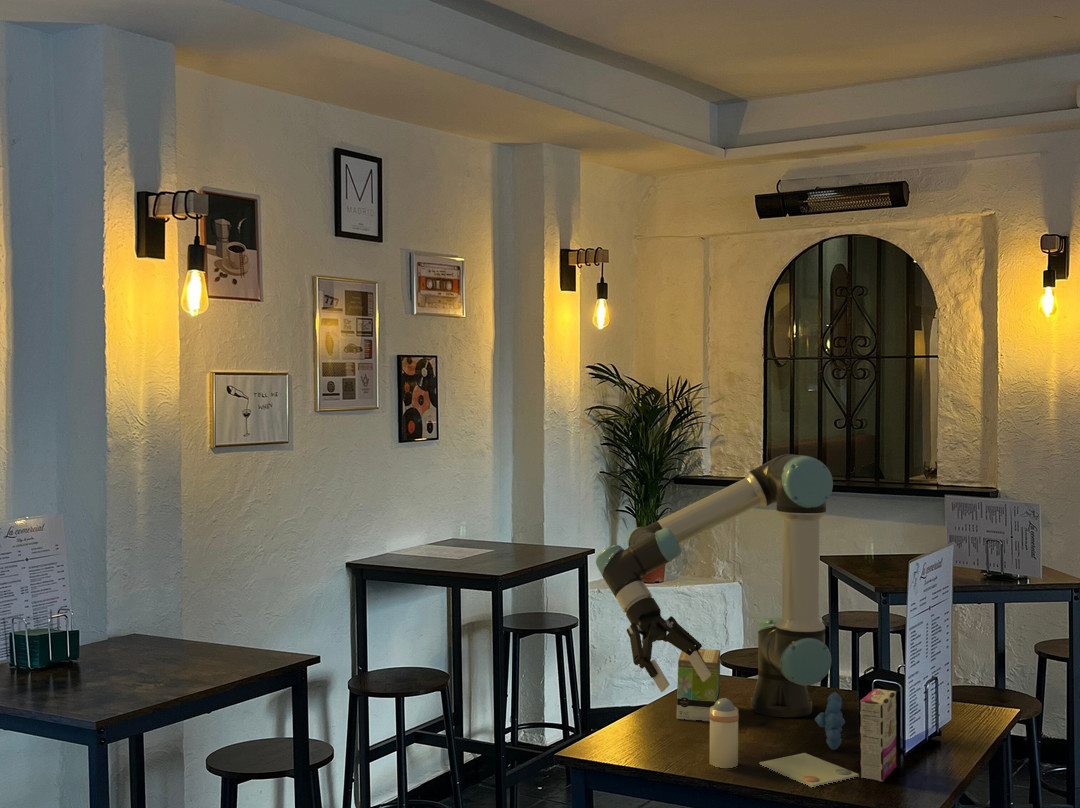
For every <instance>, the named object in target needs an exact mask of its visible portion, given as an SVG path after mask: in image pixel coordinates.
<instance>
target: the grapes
mask: <svg viewBox="0 0 1080 808" xmlns="http://www.w3.org/2000/svg"><path fill="white" fill-rule="evenodd" d="M826 700H827V704H826V708H825V709H824V710H825V712H820V713H818V714H817V716H816V717H815V718H814V721H815V722H816V724H817V725H818V727H820V728H824V731H825V737H827V738H826V741H825V742H826V744H827V745H828V747H829V748H830V749H831V750H834V751H835V750H837V749H838V748H840V745H841V744H842V741H843V739H842V738H841V736H842V733H841V732H842V731H843V726H844V725H845V724H846V720H845V719H844V717H843V715H844V714H843V713H842V711H841V709H842V705H843V704H844V702H842V701H843V699H842V697H841V696H840V694H838V693H837V692H836V691H835V692H832V693H830V694H829V696H828V697H827V699H826Z"/></svg>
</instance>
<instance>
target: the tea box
mask: <svg viewBox="0 0 1080 808" xmlns="http://www.w3.org/2000/svg"><path fill="white" fill-rule="evenodd" d="M689 650H690V649H689ZM698 652H699V654H700V655H701V657H702V659H703V660H704V662H705V665H706V667H707V668H708V670H709V672H710V673H711V676H710V677H709V678H708V679H707V680H706V681H705V682H702V680H701V678H700V677H699V675H698V674H697V672H696V670H695V669H694V667H693V666H692V664H691V662H690V661H689V659H688V657H689V655H688V654H686V653H684V652H683V651H681V650H680V655H679V658H678V659H677V660H678V662H677V686H676V687H677V690H676V692H677V693H676V719H677V720H684V719H685V720H686V721H696V720H702V722H710V718H709V712H710V707H711V706H714V704H715V703H716V701H717V700H719V699H720V694H721V693H720V692H721V691H720V688H721V687H720V683H721V650H720V649H711V648H710V649H709V648H700V649H699V650H698Z"/></svg>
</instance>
